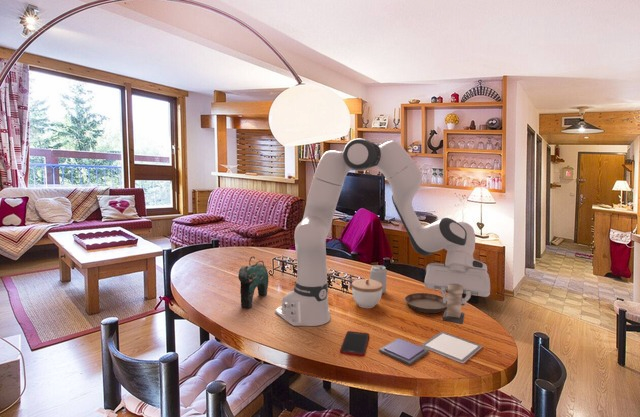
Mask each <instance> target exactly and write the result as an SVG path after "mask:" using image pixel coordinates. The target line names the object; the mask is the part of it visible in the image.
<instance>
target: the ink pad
mask: <svg viewBox="0 0 640 417" xmlns="http://www.w3.org/2000/svg"><path fill="white" fill-rule="evenodd" d="M378 351H379V353H382V354H384V355H386V356H388V357H390V358H393V359H395V360H397V361H399V362H402V363H404V364H406V365H408V366H412V364H414V363H415V362H417V361H418V360H420V359H421V358H422V357H424V356H425V355H427V354H428V353H429V351H430V350H428V349H426V348H423V347H421V345H418V344H415V343H412V342H410V341H407V340H405V339H403V338H400V337H398V338H396V339H395V340H392V341H391V342H389V343H388V344H386V345H384V346H382V347H380V348H379V349H378Z"/></svg>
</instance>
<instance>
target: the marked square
mask: <svg viewBox="0 0 640 417" xmlns="http://www.w3.org/2000/svg"><path fill="white" fill-rule="evenodd" d="M420 347H423V348H425V349H428V350H429V351H430V352H432V353H433V352H434V353H436V354H438V355H440V356H444V357H445V358H448V359H450V360H452V361H455V362H457V363H461V364H465V363H466V362H467V361H468V360H470V358H471V357H472V356H474V355H475V354H476V353H478V352H479V351H480V350H481V349H482V348H483V345H482V344H481V345H480V344H477V343H476V342H472V341H469V340H468V339H464V338H461V337H458V336H456V335H453V334H449V333H448V332H444V331H440V332H438V333H437V334H436V335H434V336H432V337H430V338H429V339H428V340H427V341H425V342H423V343H422V344H421V345H420Z"/></svg>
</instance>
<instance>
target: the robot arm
mask: <svg viewBox="0 0 640 417" xmlns="http://www.w3.org/2000/svg"><path fill="white" fill-rule="evenodd" d="M373 167H374V168H376V169H378V170H379V171H380V172H381V173H382V175H383V176H384V177H385V179H386V180H387V183H388V184H389V185H390V189H391V192H392V195H391V200H392V203H393V206H394V208H395V211H396V213H397V215H398V216H399V218H400V219H399V220H400V221H401V222H402V225H403V227H404V228H405V230H406V233H407V234H408V237H409V241H410V244H411V246H412V248H413V250H414V251H415V252H416V253H418V254H419V255H421V256H424V257H426V256H431V255H432V254H434V253H437V252H438V251H441V250H446V252H447V253H446V255H445V256H446V257H445V263H441V262H440V263H439V262H438V263H437V262H431V263H428V264H427V265H426V267H425V273H426V274H425V277H424V282H423V283H424V286H425V288H426V289H430V290H439V291H440V294H441V297H443V302H444V303H447V298H448V295H446V293H447V292H448V291H447V290H448V284H459V285H462V286H463V294H465V297H464V298H463V297H462V298H461V307H466V306H467V302H468V301H469V300H470V299H471V296H479V297H484V298H488V297H489V296H490V295H491V280H490V275H489V273H488V266H487V264H486V263H484V262H482V261H481V260H477V259H475V258H474V252H475V250H476V249H475V247H476V235H475V230H474V228H473V226H472V225H471V224H469V223H468V222H466V221H455V220H454V219H453V218H450V217H443V218H440V219H438V220H436V221H434V222H432V223H429V224H427V225H423V224H422V223H421V222H420V219H419V217H418V216H417V213H416V211H415V210H414V207H413V199H414V197H415V196H416V195H417V194H416V193H418V191H419V190H420V188H421V185H422V182H423V175H422V172H421V169H420V167H418V165H417V163H416V162H415V160H414V159H413V158H412V157H411V155H410V154H409V153H408V152H407V150H406V149H405V148H404V147H403V146H402V145H401V144H400V143H399V142H397V141H396V140H395V141H394V140H390V141H389V140H388V141H385V142H384V143H382V144H380V145H378V144H377V143H375V142H374V143H373V142H371V141H370V140H368V139H365V138H360V137H359V138H353V139H351V140H350V141H348V142H347V143H346V144H345V147H344V148H343V150H342V151H338V150H327V151H325V152H324V153H323V154H322V156H321V157H320V160H319V161H318V164H317V166H316V169H315V171H314V174H313V177H312V180H311V184H310V186H309V191H308V193H307V198H306V205H305V208H304V212H303V218H302V219H301V221H300V222H299V223H297V225H296V227H295V229H294V233H293V234H294V236H293V237H294V245H295V254H296V255H295V256H296V262H297V263H296V264H297V269H296V273H297V274H296V281H292V286H294V287H293V289H292V290H291V291H290V292H288V293H287V294H285V295H284V296H283V297H282V300H281V305H280V306H278V307H277V308H276V309H275V310H274V312H275V313H276V315H278V316H279V317H280V318H282V319H283V320H285V321H286V322H287V323H289V324H290V325H291V326H294V327H298V326H299V327H300V326H303V327H304V326H306V327H317V326H323V325H325V324H326V323H328V322H330V321H331V315H330V313H331V312H330V308H329V298H328V292H329V288H328V287H329V284H328V279H327V278H328V276H327V274H328V261H327V250H326V249H327V248H326V247H327V244H326V242H327V237H328V235H329V233H330V229H331V226H332V223H333V219H334V216H335V213H336V209H337V205H338V202H339V198H340V195H341V192H342V189H343V186H344V183H345V180H346V177H347V175H348V173H349V172H350V171H357V172H358V171H359V172H363V171H367V170H369V169H370V168H373Z"/></svg>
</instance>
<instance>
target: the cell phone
mask: <svg viewBox="0 0 640 417" xmlns="http://www.w3.org/2000/svg"><path fill="white" fill-rule="evenodd" d="M369 338H370V333H367V332H360V331H352V330H348V331H346V334H345V337H344V339H343V341H342V344H341V347H340V349H339V353H340V354H343V355H350V356H357V357H364V356H365V354H366V349H367V347H368V343H369Z"/></svg>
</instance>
